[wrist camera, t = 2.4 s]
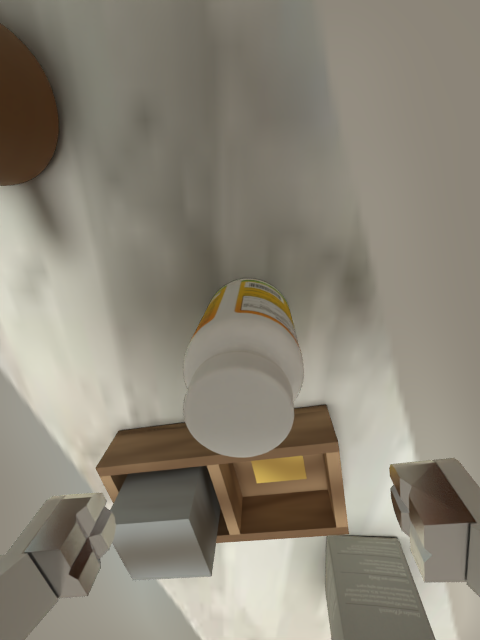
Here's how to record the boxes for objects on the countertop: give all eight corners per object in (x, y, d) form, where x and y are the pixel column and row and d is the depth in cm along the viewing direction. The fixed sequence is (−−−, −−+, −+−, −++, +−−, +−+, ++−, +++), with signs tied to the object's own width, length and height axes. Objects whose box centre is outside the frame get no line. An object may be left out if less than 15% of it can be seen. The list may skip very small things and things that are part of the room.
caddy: (118, 430, 24) (69, 510, 18) (326, 404, 22) (351, 485, 15) (153, 507, 27) (121, 597, 21) (337, 491, 25) (362, 587, 19)
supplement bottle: (223, 361, 21) (194, 484, 12) (196, 290, 19) (137, 371, 10) (299, 342, 20) (330, 459, 11) (277, 266, 18) (293, 330, 9)
